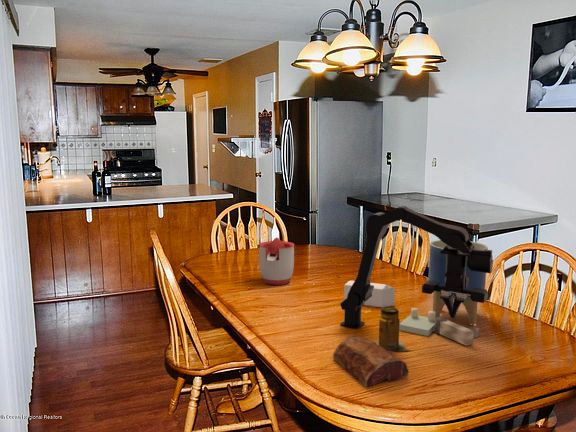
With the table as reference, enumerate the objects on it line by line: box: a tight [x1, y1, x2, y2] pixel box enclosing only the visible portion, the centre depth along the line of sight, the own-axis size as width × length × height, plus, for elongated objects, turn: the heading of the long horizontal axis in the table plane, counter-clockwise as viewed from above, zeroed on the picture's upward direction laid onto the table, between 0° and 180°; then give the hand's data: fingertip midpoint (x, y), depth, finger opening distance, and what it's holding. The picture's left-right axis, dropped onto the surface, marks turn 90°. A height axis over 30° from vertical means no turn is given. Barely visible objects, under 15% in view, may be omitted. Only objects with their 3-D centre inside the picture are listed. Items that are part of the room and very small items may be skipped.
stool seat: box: [399, 307, 436, 337], centre depth 174 cm, size 12×10×5 cm
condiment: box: [375, 306, 409, 353], centre depth 157 cm, size 7×8×12 cm
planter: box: [427, 239, 489, 326], centre depth 183 cm, size 19×19×26 cm
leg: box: [434, 316, 474, 347], centre depth 165 cm, size 14×4×4 cm, turn 29°
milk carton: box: [343, 279, 396, 308], centre depth 200 cm, size 7×7×19 cm
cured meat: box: [332, 335, 410, 389], centre depth 147 cm, size 18×25×7 cm
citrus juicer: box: [258, 237, 295, 286], centre depth 227 cm, size 16×17×20 cm
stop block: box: [462, 325, 480, 339], centre depth 168 cm, size 3×5×2 cm, turn 57°
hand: (452, 318), depth 160 cm, fingers closed
